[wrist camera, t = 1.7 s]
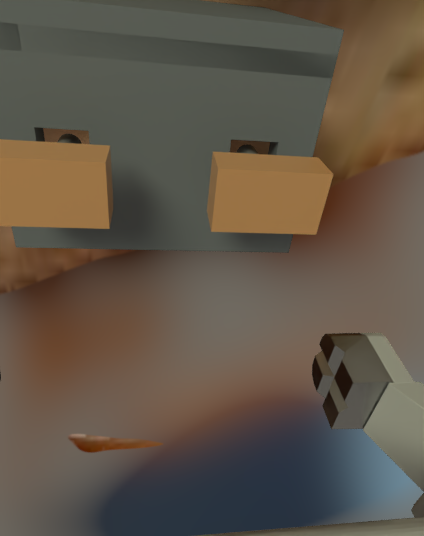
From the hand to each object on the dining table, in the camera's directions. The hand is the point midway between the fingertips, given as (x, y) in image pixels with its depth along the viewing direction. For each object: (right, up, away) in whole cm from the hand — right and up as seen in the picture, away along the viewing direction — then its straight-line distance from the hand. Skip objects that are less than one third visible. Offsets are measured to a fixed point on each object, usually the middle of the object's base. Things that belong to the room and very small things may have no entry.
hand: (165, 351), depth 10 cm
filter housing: (-3, +17, +24) cm, 30 cm away
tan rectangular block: (+3, +8, +12) cm, 15 cm away
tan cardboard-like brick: (-6, +9, +11) cm, 15 cm away
